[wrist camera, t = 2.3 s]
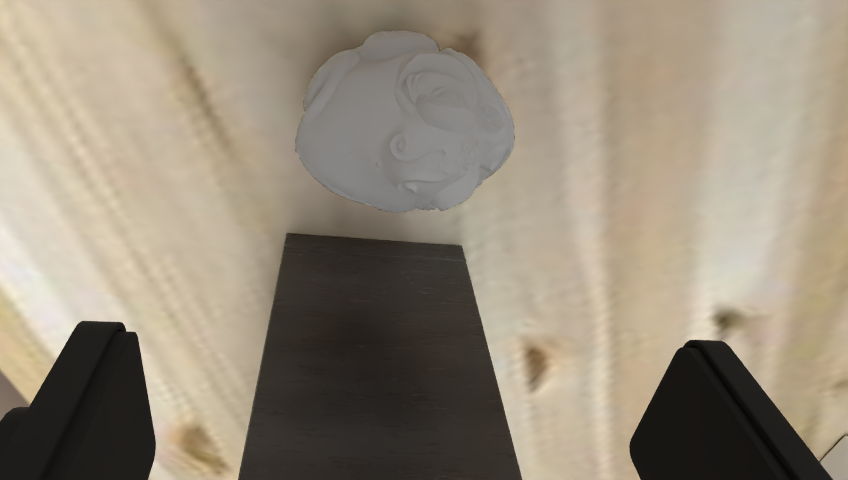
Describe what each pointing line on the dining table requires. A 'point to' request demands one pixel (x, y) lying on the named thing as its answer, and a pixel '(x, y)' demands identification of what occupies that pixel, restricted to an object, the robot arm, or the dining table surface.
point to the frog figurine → (403, 124)
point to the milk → (837, 460)
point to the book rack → (376, 369)
